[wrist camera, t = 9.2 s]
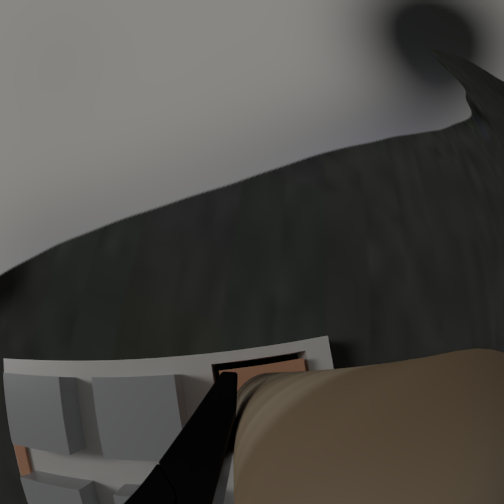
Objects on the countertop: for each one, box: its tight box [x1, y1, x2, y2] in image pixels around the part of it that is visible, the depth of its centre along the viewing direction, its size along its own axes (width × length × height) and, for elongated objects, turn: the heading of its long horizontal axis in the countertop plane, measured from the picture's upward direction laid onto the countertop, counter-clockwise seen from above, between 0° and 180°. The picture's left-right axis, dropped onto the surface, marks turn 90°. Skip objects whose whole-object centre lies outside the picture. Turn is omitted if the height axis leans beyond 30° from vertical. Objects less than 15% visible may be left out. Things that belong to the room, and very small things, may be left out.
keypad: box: [3, 336, 334, 504], centre depth 13 cm, size 13×21×5 cm, turn 98°
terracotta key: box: [219, 358, 306, 392], centre depth 16 cm, size 4×4×3 cm
